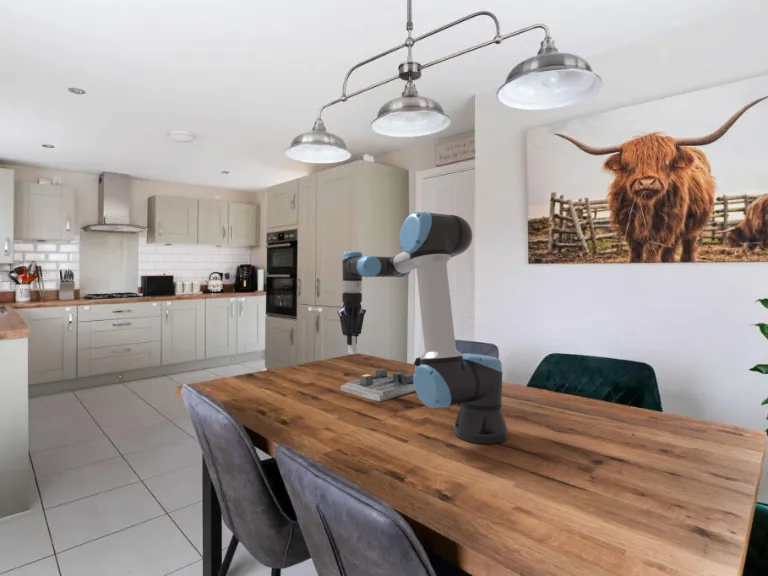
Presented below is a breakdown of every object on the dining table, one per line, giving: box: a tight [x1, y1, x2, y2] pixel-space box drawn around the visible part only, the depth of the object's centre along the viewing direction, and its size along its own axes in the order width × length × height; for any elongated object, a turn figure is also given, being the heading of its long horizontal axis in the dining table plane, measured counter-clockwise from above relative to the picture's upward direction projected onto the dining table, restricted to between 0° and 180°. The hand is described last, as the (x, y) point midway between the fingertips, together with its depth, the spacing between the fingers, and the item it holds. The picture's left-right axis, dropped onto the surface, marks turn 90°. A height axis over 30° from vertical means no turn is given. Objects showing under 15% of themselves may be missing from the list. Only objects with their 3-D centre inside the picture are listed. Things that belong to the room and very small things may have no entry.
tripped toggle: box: [360, 373, 374, 386], centre depth 172 cm, size 4×3×4 cm
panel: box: [340, 367, 416, 402], centre depth 175 cm, size 26×22×6 cm
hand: (351, 353), depth 166 cm, fingers closed
